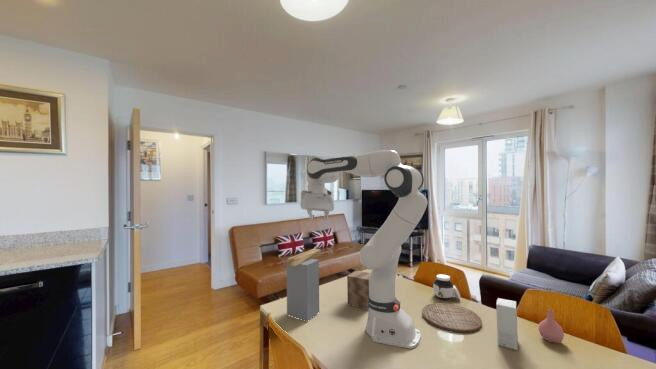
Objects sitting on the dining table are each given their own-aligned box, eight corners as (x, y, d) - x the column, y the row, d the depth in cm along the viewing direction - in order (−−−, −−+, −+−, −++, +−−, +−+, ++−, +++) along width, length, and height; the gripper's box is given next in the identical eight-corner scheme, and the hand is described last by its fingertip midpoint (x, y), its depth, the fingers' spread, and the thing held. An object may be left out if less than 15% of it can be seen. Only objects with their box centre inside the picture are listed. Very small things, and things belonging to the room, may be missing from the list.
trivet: (491, 337, 106) (491, 332, 106) (427, 330, 111) (427, 326, 111) (470, 308, 130) (470, 305, 131) (418, 304, 135) (418, 301, 136)
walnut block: (376, 302, 138) (375, 274, 138) (369, 309, 130) (368, 279, 130) (355, 297, 144) (355, 270, 145) (347, 304, 136) (347, 275, 136)
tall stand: (319, 313, 127) (318, 259, 127) (307, 322, 118) (306, 265, 119) (299, 307, 133) (299, 256, 133) (287, 315, 125) (286, 261, 125)
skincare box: (517, 351, 96) (516, 309, 96) (496, 344, 100) (495, 304, 100) (517, 340, 103) (517, 301, 103) (498, 334, 107) (497, 296, 107)
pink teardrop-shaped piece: (554, 348, 98) (554, 316, 98) (533, 337, 105) (533, 307, 105) (569, 344, 100) (568, 313, 100) (547, 333, 107) (547, 304, 107)
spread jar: (431, 295, 146) (430, 274, 147) (445, 291, 151) (445, 271, 151) (449, 303, 136) (448, 281, 136) (464, 299, 140) (463, 278, 141)
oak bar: (320, 255, 136) (320, 249, 136) (294, 266, 117) (294, 259, 117) (314, 254, 138) (314, 248, 138) (287, 264, 119) (287, 258, 119)
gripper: (305, 188, 122) (307, 217, 118) (334, 193, 137) (337, 219, 133) (296, 191, 126) (298, 219, 122) (326, 195, 141) (328, 221, 137)
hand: (319, 219), depth 128 cm, fingers open, 8 cm apart
